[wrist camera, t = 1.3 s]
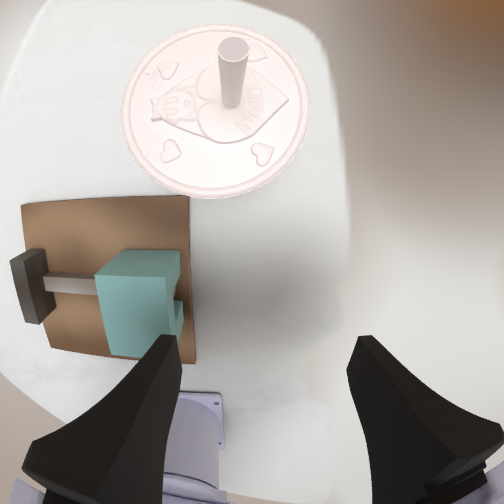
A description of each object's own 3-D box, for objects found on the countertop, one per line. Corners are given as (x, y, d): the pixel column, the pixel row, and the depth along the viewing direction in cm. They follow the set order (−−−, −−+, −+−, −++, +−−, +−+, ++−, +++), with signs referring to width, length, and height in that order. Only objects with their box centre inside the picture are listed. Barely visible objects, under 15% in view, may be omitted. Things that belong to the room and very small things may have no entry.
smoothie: (273, 180, 18) (383, 221, 5) (175, 187, 18) (54, 247, 5) (267, 87, 16) (347, -48, 3) (170, 94, 16) (65, -21, 3)
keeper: (183, 320, 19) (174, 360, 15) (131, 317, 19) (111, 354, 15) (179, 250, 18) (164, 277, 14) (122, 249, 18) (94, 274, 13)
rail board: (196, 358, 22) (192, 389, 18) (54, 343, 21) (36, 366, 17) (189, 195, 18) (179, 202, 15) (26, 203, 17) (-3, 212, 13)
